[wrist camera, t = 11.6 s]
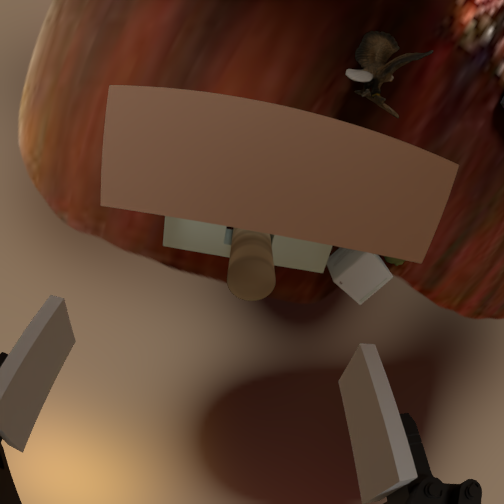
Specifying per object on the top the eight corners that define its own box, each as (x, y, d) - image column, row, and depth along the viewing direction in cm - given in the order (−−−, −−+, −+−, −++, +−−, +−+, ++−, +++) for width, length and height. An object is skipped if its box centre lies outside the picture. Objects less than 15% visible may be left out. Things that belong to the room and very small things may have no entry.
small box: (350, 284, 40) (359, 307, 36) (323, 260, 38) (331, 281, 34) (381, 257, 38) (395, 277, 34) (356, 229, 36) (369, 248, 32)
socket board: (189, 95, 29) (180, 94, 25) (353, 129, 30) (366, 134, 27) (171, 230, 36) (162, 245, 33) (316, 256, 38) (323, 273, 34)
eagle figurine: (402, 121, 29) (437, 59, 23) (393, 116, 23) (435, 40, 18) (346, 87, 31) (378, 27, 25) (324, 77, 25) (362, 4, 20)
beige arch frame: (176, 89, 25) (109, 85, 12) (372, 130, 27) (459, 165, 14) (166, 154, 28) (100, 205, 15) (354, 191, 30) (421, 263, 17)
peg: (238, 195, 34) (231, 256, 22) (270, 201, 35) (280, 264, 22) (233, 224, 36) (223, 296, 24) (263, 229, 36) (269, 304, 24)
